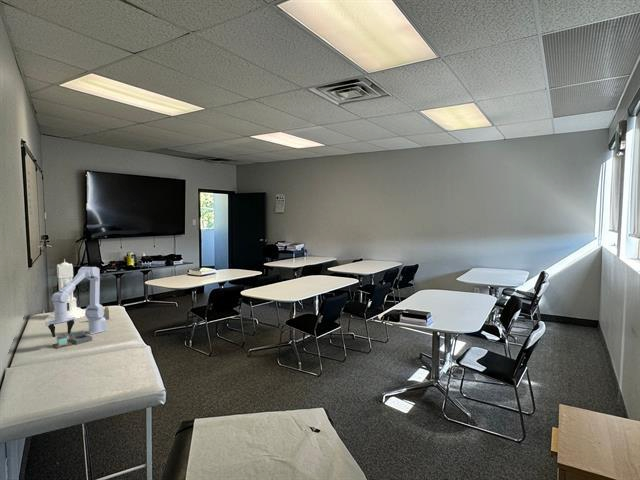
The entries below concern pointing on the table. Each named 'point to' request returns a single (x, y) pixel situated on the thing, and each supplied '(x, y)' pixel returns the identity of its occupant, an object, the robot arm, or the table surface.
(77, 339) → the port
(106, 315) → the ruin model on sheet
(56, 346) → the brown square frame
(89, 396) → the table surface
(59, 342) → the plug
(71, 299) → the white castle tower
